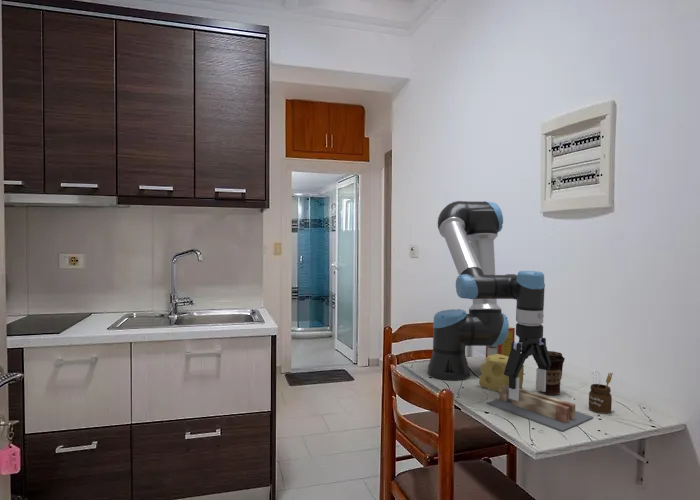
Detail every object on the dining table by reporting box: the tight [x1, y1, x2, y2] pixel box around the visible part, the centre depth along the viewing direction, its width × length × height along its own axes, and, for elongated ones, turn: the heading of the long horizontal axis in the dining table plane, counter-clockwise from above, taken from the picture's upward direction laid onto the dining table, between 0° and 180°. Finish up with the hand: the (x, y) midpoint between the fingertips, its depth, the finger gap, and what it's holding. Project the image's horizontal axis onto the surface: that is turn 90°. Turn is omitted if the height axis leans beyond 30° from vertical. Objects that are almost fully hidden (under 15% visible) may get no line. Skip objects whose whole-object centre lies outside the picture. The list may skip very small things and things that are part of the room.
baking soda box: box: [485, 326, 516, 359], centre depth 181 cm, size 10×6×16 cm
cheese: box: [478, 354, 524, 393], centre depth 154 cm, size 10×11×10 cm
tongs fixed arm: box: [498, 385, 570, 423], centre depth 133 cm, size 22×3×4 cm, turn 36°
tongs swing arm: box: [519, 388, 576, 420], centre depth 133 cm, size 17×2×4 cm, turn 40°
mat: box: [486, 398, 594, 433], centre depth 134 cm, size 24×16×1 cm, turn 36°
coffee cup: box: [537, 350, 566, 396], centre depth 150 cm, size 9×8×13 cm
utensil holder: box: [588, 370, 614, 414], centre depth 135 cm, size 6×6×12 cm
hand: (527, 394), depth 135 cm, fingers open, 13 cm apart
